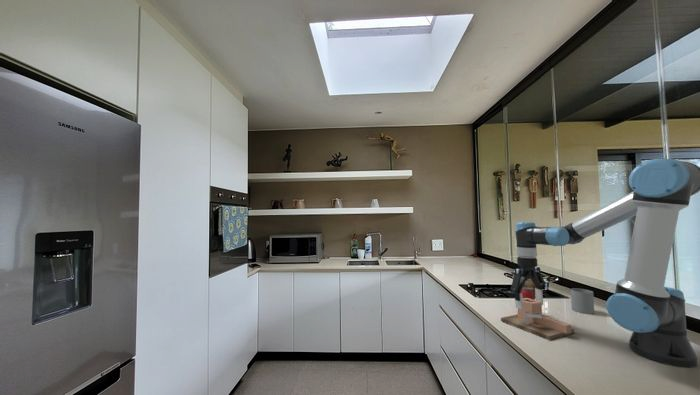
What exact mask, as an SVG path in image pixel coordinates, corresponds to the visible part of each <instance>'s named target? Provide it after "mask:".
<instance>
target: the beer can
mask: <svg viewBox="0 0 700 395" xmlns="http://www.w3.org/2000/svg"><path fill="white" fill-rule="evenodd" d="M521 293H522V299H523V298H529V299H533V300H536V296H535V289H534V288H533V287H530V286H525V285H524V286H523V288H522V290H521Z"/></svg>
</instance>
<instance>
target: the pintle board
mask: <svg viewBox="0 0 700 395" xmlns="http://www.w3.org/2000/svg"><path fill="white" fill-rule="evenodd" d="M501 321H502V323H505V324H507V325H510V326H512V327H514V328H517V329H519V330H522V331H524V332H527V333H530V334H532V335H535V336H536V337H537V336H538V337H539V338H543V339H545V340H547V341H552V340H555V339H558V338H562V337H566V336H568V335H573V334H574V333H575V329H574V328H572V327H571V333H567V334H566V333H563V332H560V331H558V330H555V329H552V328H549V327H546V326H543V325H540V324H538V323H530V322H529V324H530V326H529V325H525V320H522V319H519V318H518V313H517V314H513V315H509V316H503V317H500V322H501Z"/></svg>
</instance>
